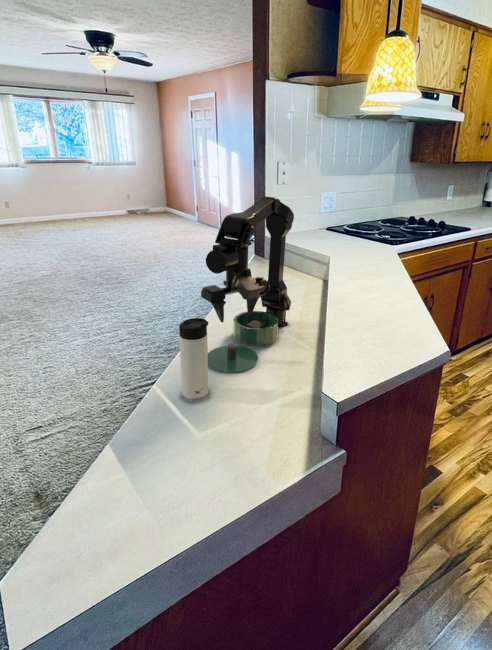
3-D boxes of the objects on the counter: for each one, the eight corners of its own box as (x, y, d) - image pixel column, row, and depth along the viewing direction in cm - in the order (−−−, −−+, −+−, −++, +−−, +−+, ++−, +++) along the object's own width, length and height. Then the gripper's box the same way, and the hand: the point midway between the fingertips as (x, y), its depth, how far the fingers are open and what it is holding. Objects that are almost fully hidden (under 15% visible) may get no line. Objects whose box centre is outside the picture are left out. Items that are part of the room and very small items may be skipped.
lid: (239, 344, 126) (239, 329, 124) (268, 364, 116) (269, 348, 114) (195, 357, 117) (195, 341, 115) (223, 381, 107) (223, 364, 105)
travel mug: (203, 404, 97) (201, 328, 89) (177, 400, 98) (173, 324, 90) (213, 390, 102) (212, 317, 95) (188, 386, 104) (185, 313, 96)
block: (253, 332, 133) (254, 319, 131) (265, 336, 131) (265, 323, 129) (245, 337, 129) (246, 324, 128) (257, 341, 127) (257, 328, 126)
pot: (260, 325, 139) (260, 307, 137) (286, 340, 130) (287, 322, 127) (225, 335, 131) (225, 316, 129) (250, 352, 121) (250, 333, 119)
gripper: (222, 277, 97) (222, 337, 102) (283, 267, 108) (280, 321, 114) (199, 266, 104) (200, 321, 110) (258, 257, 116) (256, 308, 122)
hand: (236, 318), depth 114 cm, fingers open, 9 cm apart
